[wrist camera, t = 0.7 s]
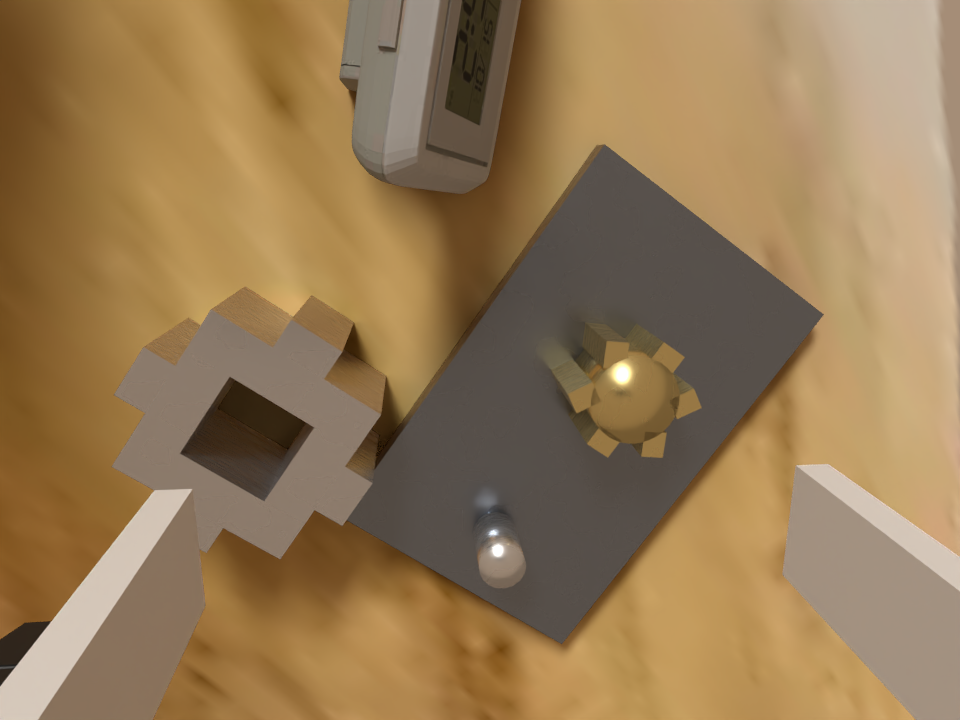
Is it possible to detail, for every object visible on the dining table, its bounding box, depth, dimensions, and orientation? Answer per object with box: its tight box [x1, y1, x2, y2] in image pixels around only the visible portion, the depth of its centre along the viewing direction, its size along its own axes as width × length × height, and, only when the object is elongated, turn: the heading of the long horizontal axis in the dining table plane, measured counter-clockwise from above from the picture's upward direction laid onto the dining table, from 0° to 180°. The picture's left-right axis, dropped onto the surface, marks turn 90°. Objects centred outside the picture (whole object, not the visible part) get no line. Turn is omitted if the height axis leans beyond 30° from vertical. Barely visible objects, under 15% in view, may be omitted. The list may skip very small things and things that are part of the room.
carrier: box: [347, 144, 824, 644], centre depth 35 cm, size 14×22×6 cm, turn 145°
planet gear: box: [112, 287, 386, 559], centre depth 33 cm, size 11×11×6 cm
